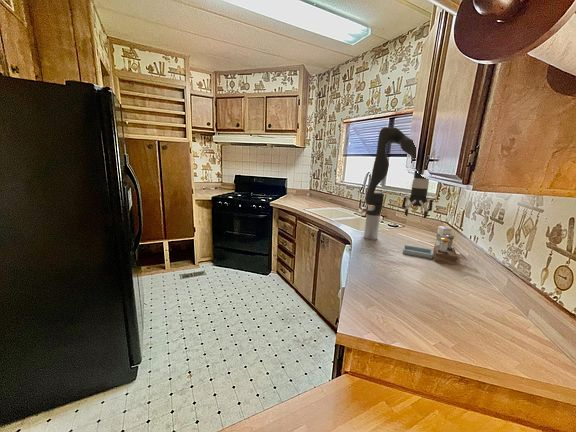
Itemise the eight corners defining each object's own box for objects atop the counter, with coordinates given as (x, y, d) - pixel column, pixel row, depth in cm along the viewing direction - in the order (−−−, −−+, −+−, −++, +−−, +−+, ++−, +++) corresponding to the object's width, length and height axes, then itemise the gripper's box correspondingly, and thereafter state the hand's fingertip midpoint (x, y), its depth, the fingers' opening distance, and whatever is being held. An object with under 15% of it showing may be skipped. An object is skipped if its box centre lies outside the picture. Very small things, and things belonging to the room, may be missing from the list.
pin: (441, 254, 148) (445, 234, 145) (449, 256, 147) (454, 235, 144) (442, 257, 145) (446, 236, 142) (450, 258, 143) (455, 237, 140)
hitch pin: (436, 258, 143) (440, 237, 140) (445, 259, 141) (449, 238, 138) (437, 260, 139) (441, 239, 136) (446, 262, 137) (450, 240, 134)
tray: (403, 248, 157) (404, 244, 156) (431, 253, 150) (431, 249, 150) (402, 253, 148) (403, 249, 147) (431, 259, 141) (432, 255, 141)
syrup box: (448, 250, 156) (452, 228, 153) (439, 249, 157) (443, 228, 153) (443, 247, 162) (447, 226, 159) (434, 246, 162) (438, 225, 159)
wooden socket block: (433, 252, 152) (434, 244, 151) (452, 255, 148) (453, 247, 146) (434, 261, 138) (436, 253, 137) (455, 265, 134) (457, 256, 133)
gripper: (435, 187, 129) (430, 217, 133) (405, 185, 136) (401, 214, 139) (435, 188, 123) (430, 220, 126) (404, 186, 129) (400, 216, 133)
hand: (415, 217), depth 133 cm, fingers open, 8 cm apart
